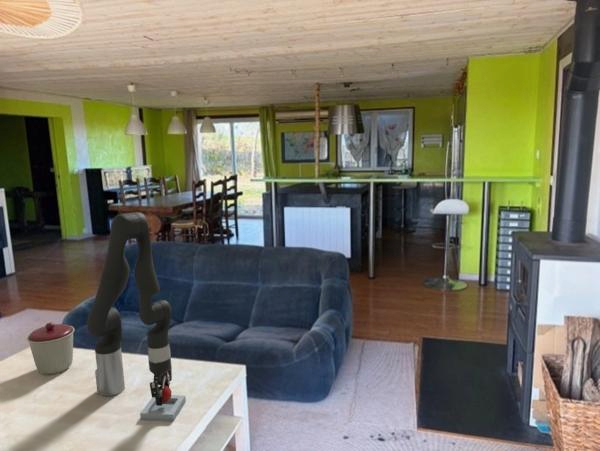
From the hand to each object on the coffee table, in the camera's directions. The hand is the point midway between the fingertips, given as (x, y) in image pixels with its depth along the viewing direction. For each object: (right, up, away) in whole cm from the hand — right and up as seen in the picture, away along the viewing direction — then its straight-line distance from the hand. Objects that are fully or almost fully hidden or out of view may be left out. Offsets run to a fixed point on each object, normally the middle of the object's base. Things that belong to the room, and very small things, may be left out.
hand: (163, 399), depth 163 cm
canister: (-57, 0, +33) cm, 66 cm away
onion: (0, -2, 0) cm, 2 cm away
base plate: (0, -4, +1) cm, 4 cm away
